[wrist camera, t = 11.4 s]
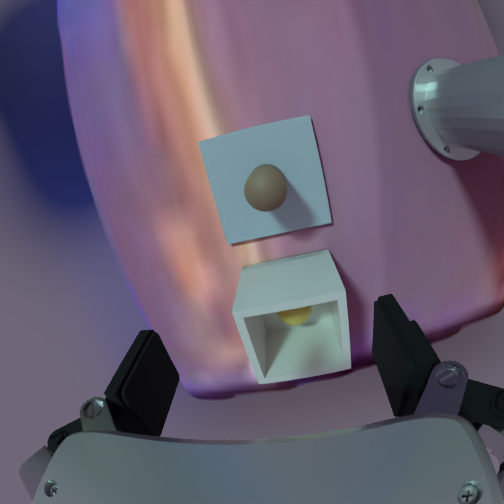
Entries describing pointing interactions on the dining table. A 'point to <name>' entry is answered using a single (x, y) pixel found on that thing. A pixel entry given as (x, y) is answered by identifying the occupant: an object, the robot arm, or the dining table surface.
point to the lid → (267, 179)
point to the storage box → (293, 317)
